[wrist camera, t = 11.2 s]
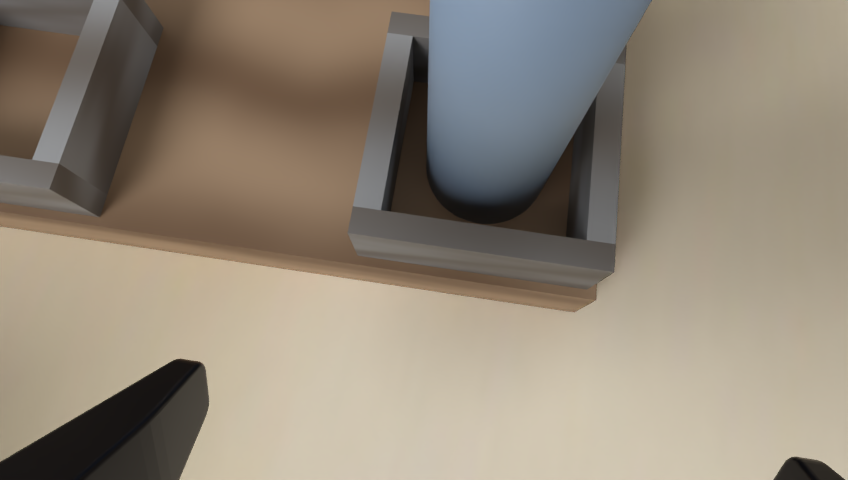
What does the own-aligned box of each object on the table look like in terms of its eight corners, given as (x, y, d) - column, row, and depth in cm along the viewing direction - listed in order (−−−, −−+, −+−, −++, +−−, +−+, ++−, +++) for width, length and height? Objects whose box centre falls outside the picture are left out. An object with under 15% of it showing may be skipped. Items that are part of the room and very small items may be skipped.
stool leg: (439, 234, 18) (479, -113, 6) (415, 126, 19) (405, -361, 7) (557, 211, 18) (840, -170, 6) (527, 105, 19) (712, -399, 7)
